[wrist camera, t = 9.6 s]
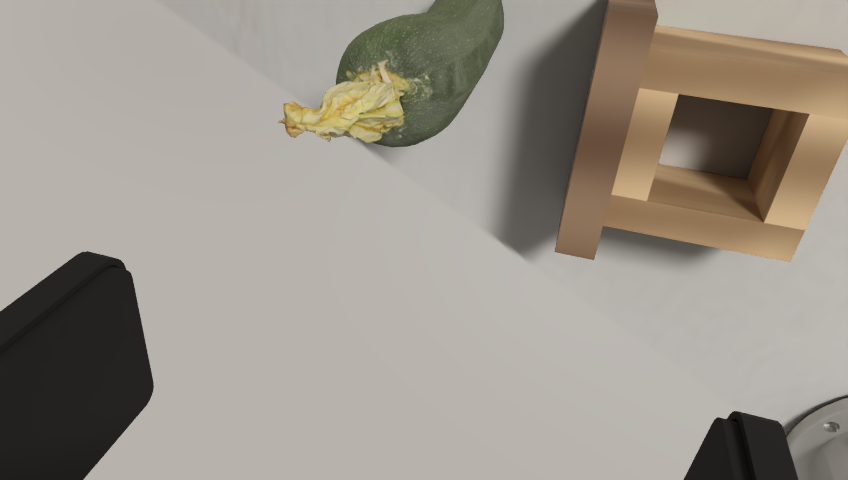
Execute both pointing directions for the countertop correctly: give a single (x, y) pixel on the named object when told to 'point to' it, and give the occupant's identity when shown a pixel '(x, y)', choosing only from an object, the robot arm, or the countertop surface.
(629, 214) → the socket block
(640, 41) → the wall
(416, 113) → the vegetable
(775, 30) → the countertop surface
